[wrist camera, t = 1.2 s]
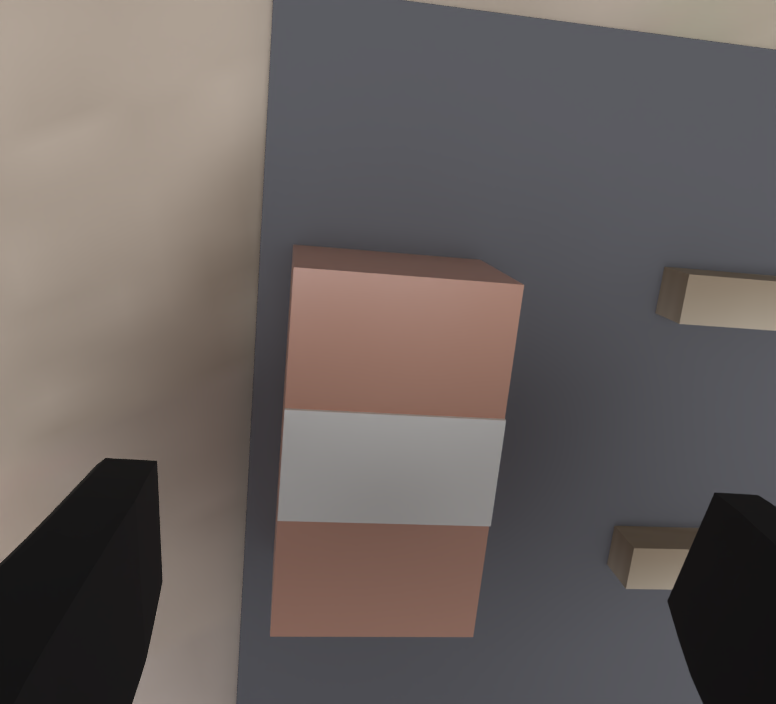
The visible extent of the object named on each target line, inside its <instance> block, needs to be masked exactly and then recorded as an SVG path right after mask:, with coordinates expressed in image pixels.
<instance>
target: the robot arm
mask: <svg viewBox="0 0 776 704" xmlns="http://www.w3.org/2000/svg"><path fill="white" fill-rule="evenodd" d="M161 586H162V561H161V539H160V517H159V495H158V473H157V461H148V460H130V459H112V458H105V459H104V460H103V461H101V462H100V463H99V464H97V465H96V466H95V467H94V468H93V469H92V470H91V471H90V473H89V474H88V475H87V476H86V477H85V478H84V479H83V480H82V481H81V482H80V483H79V484H78V485H77V486H76V487H75V488H74V490H73V491H72V492H71V493H70V494H69V495H68V496H67V497H66V498H65V499H64V500H63V501H62V502H61V503H60V504H59V505H58V506H57V507H56V508H55V509H54V510H53V512H52V513H51V514H50V515H49V516H48V517H47V518H46V519H45V520H44V521H43V522H42V523H41V524H40V525H39V526H38V527H37V528H36V529H35V530H34V531H33V532H32V533H31V534H30V535H29V536H28V537H27V538H26V539H25V540H24V541H23V542H22V543H21V544H20V545H19V546H18V547H17V548H16V549H15V550H14V551H13V552H12V553H11V554H10V555H8V556H7V557H6V558H5V559H4V560H3V561H2V562H1V563H0V704H132V702H133V699H134V696H135V693H136V690H137V687H138V684H139V681H140V678H141V674H142V671H143V668H144V665H145V662H146V658H147V653H148V649H149V644H150V639H151V635H152V630H153V625H154V621H155V616H156V611H157V606H158V601H159V596H160V591H161ZM667 602H668V605H669V609H670V612H671V615H672V619H673V622H674V626H675V629H676V632H677V636H678V639H679V642H680V645H681V648H682V651H683V654H684V657H685V660H686V663H687V666H688V669H689V672H690V675H691V678H692V680H693V682H694V684H695V687H696V689H697V691H698V694H699V696H700V698H701V700H702V702H703V704H776V506H774V505H773V504H771V503H770V502H768V501H767V500H765V499H764V498H762V497H760V496H759V495H752V494H734V493H716V492H715V493H714V495H713V497H712V499H711V502H710V504H709V506H708V509H707V511H706V513H705V515H704V518H703V520H702V522H701V525H700V527H699V529H698V532H697V534H696V536H695V538H694V541H693V543H692V545H691V548H690V550H689V552H688V554H687V557H686V559H685V561H684V564H683V566H682V568H681V571H680V573H679V575H678V577H677V580H676V582H675V584H674V587H673V589H672V591H671V593H670V596H669V598H668V600H667Z"/></svg>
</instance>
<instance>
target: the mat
mask: <svg viewBox="0 0 776 704" xmlns="http://www.w3.org/2000/svg"><path fill="white" fill-rule="evenodd" d="M293 245H305V246H318V247H330V248H342V249H355V250H367V251H379V252H391V253H404V254H416V255H428V256H441V257H453V258H465V259H478V260H482V261H483V262H485V263H487V264H489V265H490V266H492V267H494V268H496V269H497V270H499V271H501V272H503V273H504V274H506V275H508V276H510V277H511V278H513V279H515V280H517V281H518V282H520V283H522V284H524V290H523V296H522V303H521V310H520V317H519V324H518V331H517V338H516V345H515V352H514V359H513V366H512V372H511V379H510V386H509V393H508V400H507V407H506V414H505V420H506V425H505V432H504V439H503V446H502V452H501V459H500V466H499V473H498V480H497V487H496V494H495V501H494V508H493V514H492V521H491V526H489V531H488V538H487V545H486V552H485V559H484V566H483V573H482V580H481V587H480V593H479V600H478V607H477V614H476V621H475V628H474V635H473V637H270V625H271V602H272V579H273V556H274V539H275V523H276V508H277V492H278V476H279V460H280V445H281V429H282V413H283V397H284V382H285V366H286V350H287V334H288V319H289V303H290V287H291V271H292V256H293ZM664 267H674V268H687V269H699V270H711V271H723V272H735V273H747V274H759V275H771V276H776V50H773V49H766V48H758V47H750V46H743V45H735V44H728V43H720V42H713V41H705V40H698V39H690V38H683V37H675V36H668V35H660V34H653V33H645V32H638V31H630V30H623V29H615V28H608V27H600V26H593V25H585V24H578V23H570V22H563V21H555V20H547V19H540V18H532V17H525V16H517V15H510V14H502V13H495V12H487V11H480V10H472V9H465V8H457V7H450V6H442V5H435V4H427V3H420V2H412V1H405V0H273V15H272V34H271V53H270V72H269V91H268V110H267V129H266V149H265V168H264V187H263V206H262V225H261V244H260V263H259V283H258V302H257V321H256V340H255V359H254V378H253V397H252V416H251V436H250V455H249V474H248V493H247V512H246V531H245V550H244V569H243V589H242V608H241V627H240V646H239V665H238V684H237V703H236V704H703V702H702V700H701V698H700V696H699V694H698V691H697V689H696V687H695V684H694V682H693V680H692V678H691V675H690V672H689V669H688V666H687V663H686V660H685V657H684V654H683V651H682V648H681V645H680V642H679V639H678V636H677V632H676V629H675V626H674V622H673V619H672V615H671V612H670V609H669V605H668V602H667V600H668V598H669V596H670V593H671V591H672V590H666V589H626V588H625V587H624V586H623V585H622V583H621V582H620V581H619V579H618V578H617V577H616V575H615V574H614V573H613V572H612V570H611V569H610V568H609V566H608V565H607V562H608V557H609V552H610V547H611V542H612V536H613V531H614V526H644V527H681V528H699V527H700V525H701V522H702V520H703V518H704V515H705V513H706V511H707V509H708V506H709V504H710V502H711V499H712V497H713V495H714V493H715V492H716V493H734V494H752V495H759V496H760V497H762V498H764V499H765V500H767V501H768V502H770V503H771V504H773V505H774V506H776V331H772V330H758V329H744V328H730V327H716V326H702V325H688V324H678V323H676V322H674V321H672V320H669V319H667V318H665V317H663V316H660V315H658V314H656V308H657V302H658V297H659V292H660V287H661V282H662V277H663V271H664Z"/></svg>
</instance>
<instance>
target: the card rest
mask: <svg viewBox="0 0 776 704" xmlns="http://www.w3.org/2000/svg"><path fill="white" fill-rule="evenodd" d="M656 314H658V315H660V316H663V317H665V318H667V319H669V320H672V321H674V322H676V323H678V324H688V325H702V326H716V327H730V328H744V329H758V330H772V331H776V276H771V275H759V274H747V273H735V272H723V271H711V270H699V269H687V268H674V267H664V271H663V277H662V282H661V287H660V292H659V297H658V302H657V308H656ZM698 529H699V528H681V527H644V526H614V531H613V536H612V542H611V547H610V552H609V557H608V562H607V565H608V566H609V568H610V569H611V570H612V572H613V573H614V574H615V575H616V577H617V578H618V579H619V581H620V582H621V583H622V585H623V586H624V587H625V588H626V589H666V590H672V589H673V587H674V584H675V582H676V580H677V577H678V575H679V573H680V571H681V568H682V566H683V564H684V561H685V559H686V557H687V554H688V552H689V550H690V548H691V545H692V543H693V541H694V538H695V536H696V534H697V532H698Z"/></svg>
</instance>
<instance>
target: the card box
mask: <svg viewBox="0 0 776 704" xmlns="http://www.w3.org/2000/svg"><path fill="white" fill-rule="evenodd" d="M523 290H524V284H522V283H520V282H518V281H517V280H515V279H513V278H511V277H510V276H508V275H506V274H504V273H503V272H501V271H499V270H497V269H496V268H494V267H492V266H490V265H489V264H487V263H485V262H483V261H482V260H478V259H465V258H453V257H441V256H428V255H416V254H404V253H391V252H379V251H367V250H355V249H342V248H330V247H318V246H305V245H293V256H292V271H291V287H290V303H289V319H288V334H287V350H286V366H285V382H284V397H283V413H282V429H281V445H280V460H279V476H278V492H277V508H276V523H275V539H274V556H273V579H272V602H271V625H270V637H473V635H474V628H475V621H476V614H477V607H478V600H479V593H480V587H481V580H482V573H483V566H484V559H485V552H486V545H487V538H488V531H489V526H491V521H492V514H493V508H494V501H495V494H496V487H497V480H498V473H499V466H500V459H501V452H502V446H503V439H504V432H505V425H506V420H505V414H506V407H507V400H508V393H509V386H510V379H511V372H512V366H513V359H514V352H515V345H516V338H517V331H518V324H519V317H520V310H521V303H522V296H523Z"/></svg>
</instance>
